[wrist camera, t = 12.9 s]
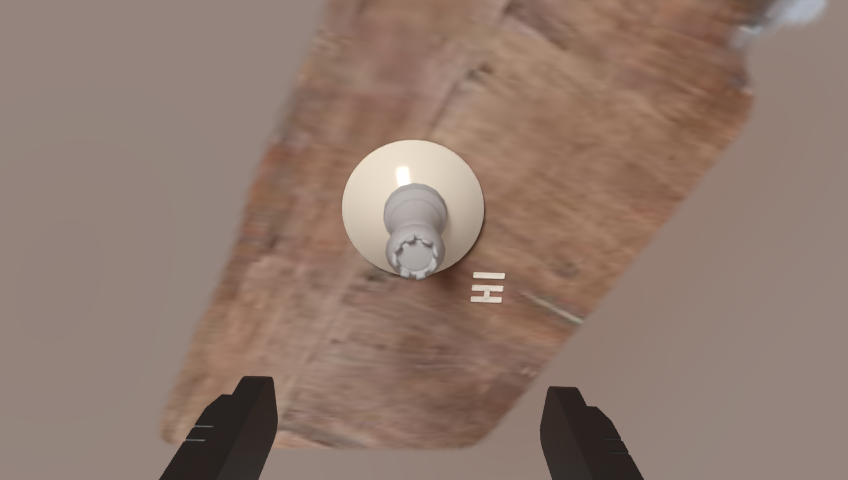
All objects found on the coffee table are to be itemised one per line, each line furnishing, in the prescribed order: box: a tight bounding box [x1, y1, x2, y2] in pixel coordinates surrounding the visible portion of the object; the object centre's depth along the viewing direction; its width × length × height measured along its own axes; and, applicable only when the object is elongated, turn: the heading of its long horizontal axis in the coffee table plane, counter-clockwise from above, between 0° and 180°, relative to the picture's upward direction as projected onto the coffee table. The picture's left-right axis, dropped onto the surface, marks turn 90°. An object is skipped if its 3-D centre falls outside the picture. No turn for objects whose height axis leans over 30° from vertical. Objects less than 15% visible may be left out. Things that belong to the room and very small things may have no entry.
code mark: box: [471, 272, 505, 303], centre depth 32 cm, size 2×2×1 cm
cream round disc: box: [342, 139, 484, 275], centre depth 29 cm, size 10×10×1 cm
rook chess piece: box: [383, 183, 448, 281], centre depth 25 cm, size 4×4×8 cm
